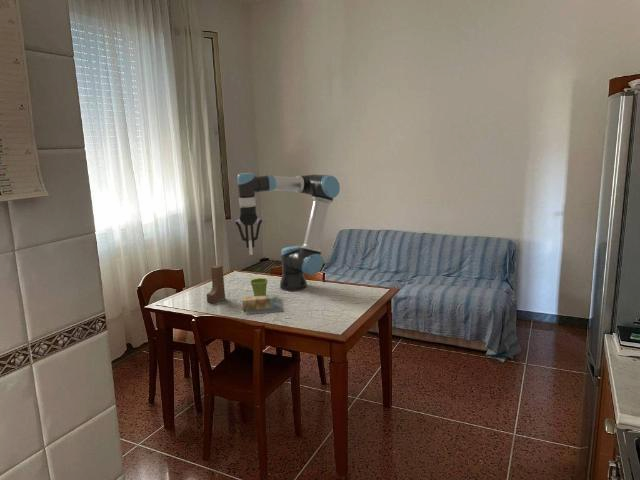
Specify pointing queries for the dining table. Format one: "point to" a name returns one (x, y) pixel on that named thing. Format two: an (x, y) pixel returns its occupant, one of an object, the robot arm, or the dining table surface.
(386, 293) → the dining table surface
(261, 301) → the tan jar with lid
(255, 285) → the plant pot
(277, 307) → the mat
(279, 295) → the dining table surface
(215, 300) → the brown boot
